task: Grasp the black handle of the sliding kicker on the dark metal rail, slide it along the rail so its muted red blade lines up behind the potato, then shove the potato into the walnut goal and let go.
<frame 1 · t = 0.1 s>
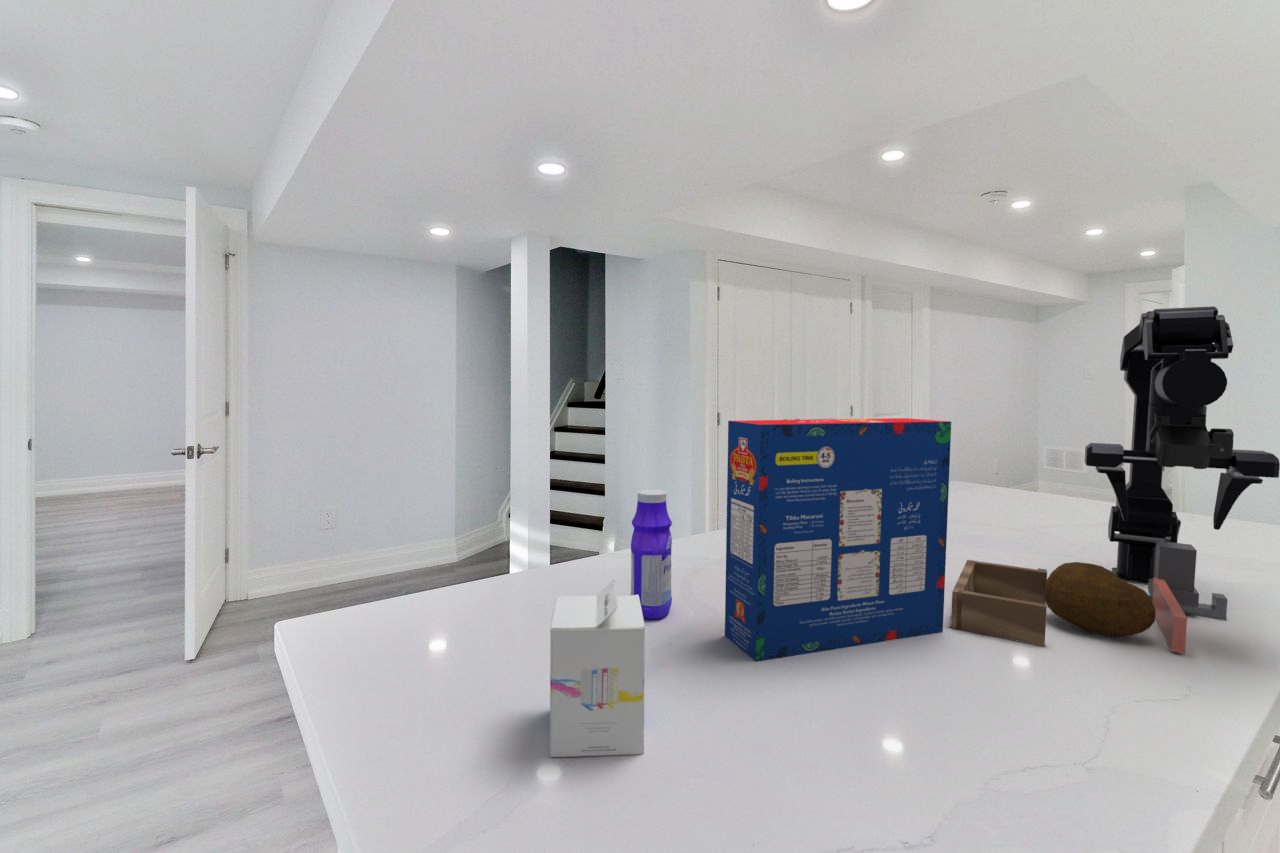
hand: (1169, 524, 82), 15 cm above the counter, fingers open, 9 cm apart
kicker: (1184, 592, 84), point 5 cm above the counter, slide at 0.0 cm
ink box: (596, 732, 59), on the counter
pasta box: (834, 635, 82), on the counter
goal: (1003, 615, 89), on the counter
potato: (1089, 630, 84), on the counter
bottle: (651, 613, 89), on the counter
rail: (1124, 601, 95), on the counter
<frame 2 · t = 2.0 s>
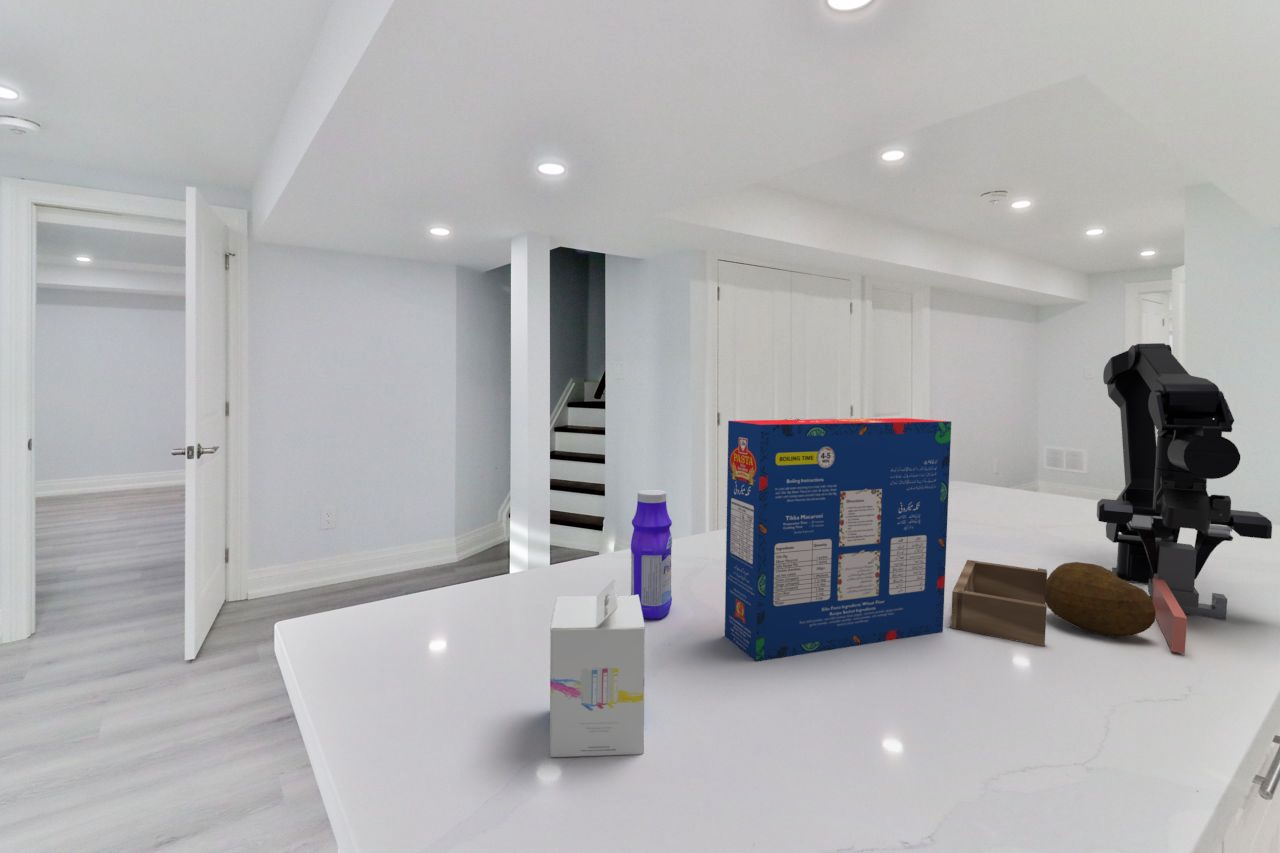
hand: (1173, 575, 91), 5 cm above the counter, fingers closed on kicker, 4 cm apart
kicker: (1184, 592, 84), point 5 cm above the counter, slide at 0.0 cm, touching gripper
everything else where it was.
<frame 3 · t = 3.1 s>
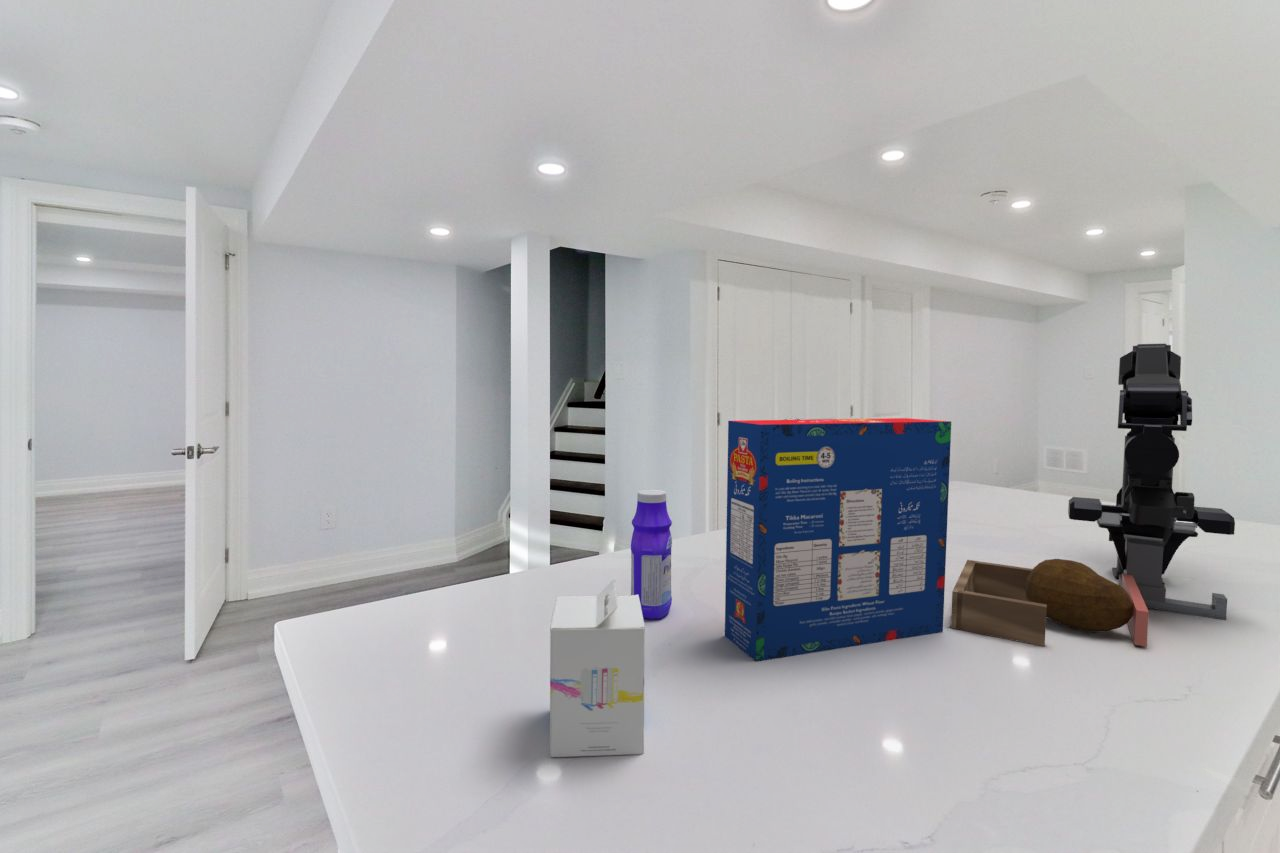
hand: (1142, 571, 93), 5 cm above the counter, fingers closed on kicker, 4 cm apart
kicker: (1150, 588, 86), point 5 cm above the counter, slide at 3.6 cm, touching gripper, potato
potato: (1068, 626, 85), on the counter, touching kicker
everything else where it was.
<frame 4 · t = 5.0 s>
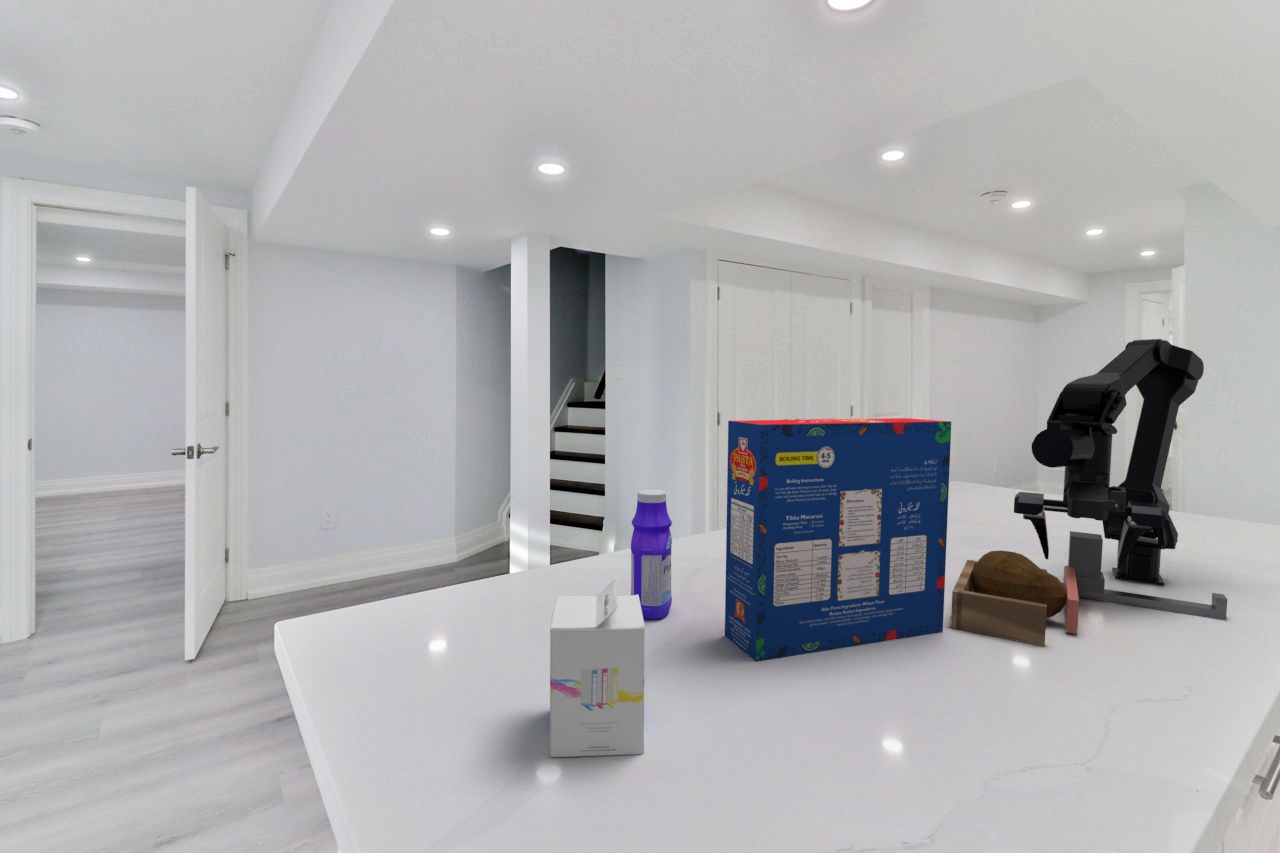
hand: (1082, 563, 97), 5 cm above the counter, fingers open, 9 cm apart
kicker: (1087, 578, 90), point 5 cm above the counter, slide at 10.7 cm
potato: (1009, 614, 90), on the counter
everything else where it was.
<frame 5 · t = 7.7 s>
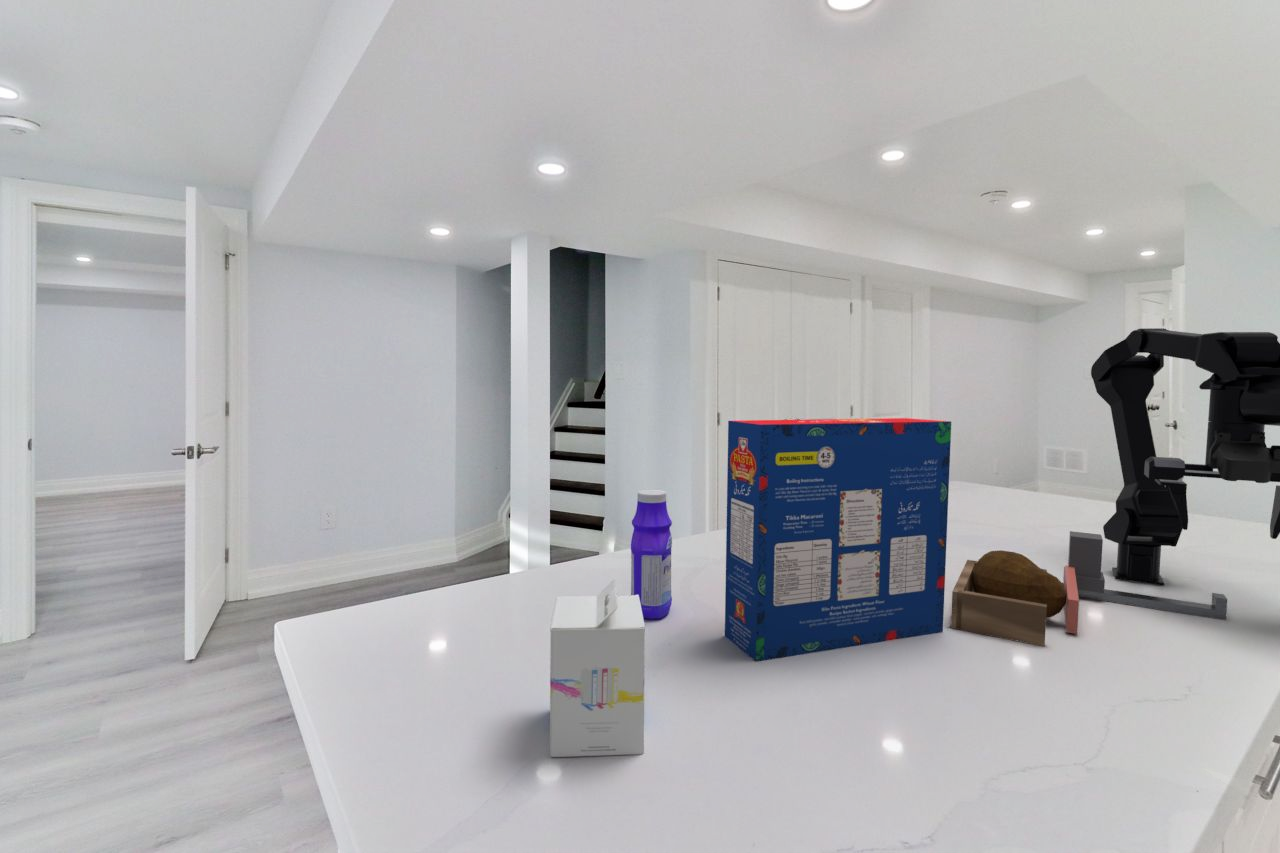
hand: (1227, 533, 88), 12 cm above the counter, fingers open, 9 cm apart
nothing on the counter moved.
at the end: potato inside the target area (1.4 cm from its centre), on the counter; kicker slide at 10.7 cm; the gripper is holding nothing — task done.
